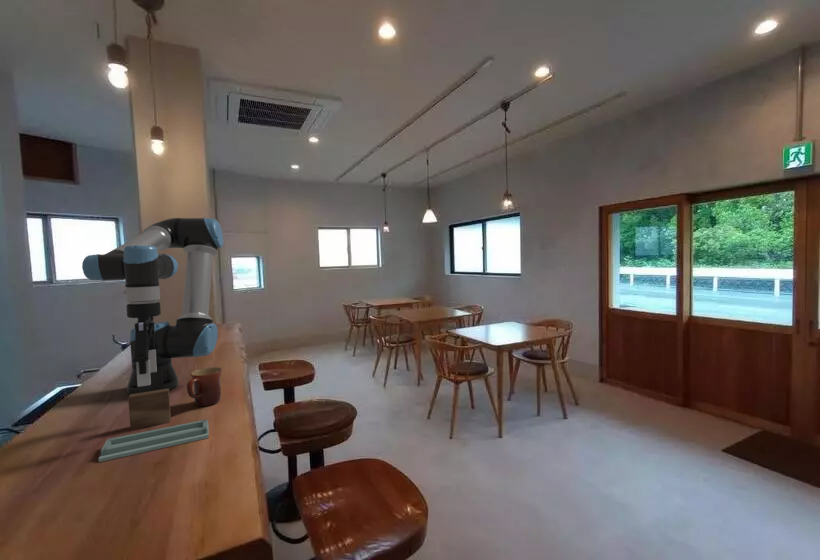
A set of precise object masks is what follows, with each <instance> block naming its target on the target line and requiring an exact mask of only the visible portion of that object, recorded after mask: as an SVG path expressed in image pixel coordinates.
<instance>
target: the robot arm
mask: <svg viewBox="0 0 820 560" xmlns="http://www.w3.org/2000/svg"><path fill="white" fill-rule="evenodd" d="M223 246H224V235H223V231H222V226H221V225H220V222H219V221H218V220H217V219H215V218H210V217H209V218H208V217H207V218H206V217H203V218H202V217H196V218H195V217H188V218H187V217H186V218H184V217H174V218H167V219H164V220H163V219H162V220H161V221H158V222H155V223H153V224H151V225H149V226H147V227H146V228H144V229H143V230H142V233H141V234H139V235H137V236H135V237H134V238H131V239H130V240H128V241H126V242H125V243H123V244H121V245H119V246H118V247H116V248H114V249H112V250H110V251H109V252H107V253H104V254H99V253H97V254H89V255H87V256H85V257H84V259H83V260H82V265H81V266H82V267H81V269H82V272H83V275H84V276H85V277H86V278H87V280H91V281H102V282H105V281H124V283H125V286H124V287H125V290H124V291H122V294H123V295H125V296H126V297H125V298H126V299H125V300H126V302H127V304H126V316H127V318H129V319H137V322H135V323H134V328H132V329H131V331H130V332H129V345H130V347H129V348H130V359H131V373H130V375H129V379H128V383H127V384H126V393H127V395H129V396H130V395H131V394H137V393H144V392H150V391H156V390H163V389H169V391H170V390H173V389H174V388H176V387H177V386H178V385H179V377H178V374H177V373H176V370H175V368H174V366H173V364H172V363H173V362H172V359H179V358H180V359H181V358H199V357H207V356H209V355H210V354H212V353H213V352H214V349H215V348H216V346H217V342H218V337H219V335H218V334H219V333H218V331H219V329H218V326H217V324H215V323H214V322H213V321H214V320H213V318H212V317H210V315H209V314H210V300H211V299H210V298H211V284H212V271H213V269H212V268H213V257H214V256H215V255H217V254H218V249H220V248H221V249H222V247H223ZM167 249H183V250H182V251H183V252H184V253H186V254H185V255H186V266H185V275H184V276H185V277H184V288H183V298H182V308H181V309H182V311H181V315H180V316H179V317H178V318H176V320H175V321H176V322H175V325H171V323H170V321H159V322H158V321H157V322H155V321H154V317H158V316H160V315H161V313H162V311H161V310H162V309H161V303H160V301H159V300H161V291H160V289H161V288H160V280H166V279H169V278H172V277H173V276H175V275H176V274H177V272H178V269H179V265H178V262H177V260H176V258H175V257H173V256H171V255H170V254H166V253H158V252H163V251H165V250H167Z"/></svg>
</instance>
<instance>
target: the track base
mask: <svg viewBox="0 0 820 560" xmlns="http://www.w3.org/2000/svg"><path fill="white" fill-rule="evenodd" d="M209 430H210V429H209V421H208V419H207V418H206V419H202V420H201V419H200V420H197V421H196V420H195V421H192V422H187V423H182V424H177V425H173V426H166V427H161V428H157V429H153V430H147V431H142V432H136V433H132V434H127V435H121V436H116V437H111V438H107V439H106V440H105V442H104V445H103V446H102V448H101V450H100V455H99V457H98V463H101V462H106V461H111V460H116V459H119V458H124V457H129V456H133V455H138V454H141V453H142V454H143V453H146V452H147V453H149V452H151V451H157V450H160V449H164V448H169V447H174V446H179V445H183V444H188V443H193V442H197V441H201V440H205V439H209V432H210V431H209Z"/></svg>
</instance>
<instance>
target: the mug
mask: <svg viewBox="0 0 820 560" xmlns="http://www.w3.org/2000/svg"><path fill="white" fill-rule="evenodd" d="M222 372H223V368H221V367H219V366H218V367H217V366H216V367H215V366H213V367H203V368H199V369H196V370H193V371H191V373H190V376H191V379H190V380H188V381H187V383H186V391H187V395H188V396H189V398H192V399H194V403H195V404H196V405H197V406H198V407H208V406H212V405H215V404H217V403H218V402H220V400H221V397H222V391H221V387H222V386H221V375H222ZM193 385H194V388H193Z"/></svg>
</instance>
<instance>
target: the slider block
mask: <svg viewBox="0 0 820 560" xmlns="http://www.w3.org/2000/svg"><path fill="white" fill-rule="evenodd" d="M170 402H171V399H170V390H169V389H163V390H156V391H150V392H144V393H137V394H131V395H129V396H128V412H129V413H128V414H129V426H130V427H129V428H130V429H129V430H130V431H133V430H138V429H144V428H149V427H154V426H159V425H164V424H170V423H171V420H172V419H171V417H172V416H171V403H170Z"/></svg>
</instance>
